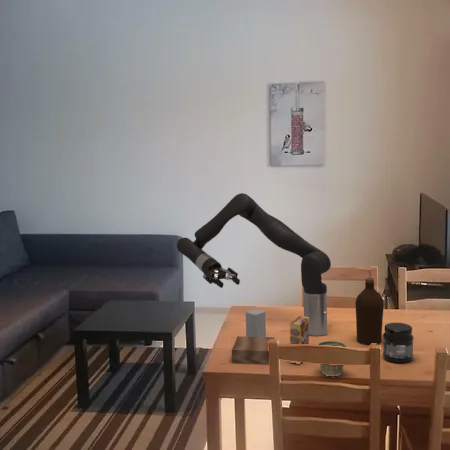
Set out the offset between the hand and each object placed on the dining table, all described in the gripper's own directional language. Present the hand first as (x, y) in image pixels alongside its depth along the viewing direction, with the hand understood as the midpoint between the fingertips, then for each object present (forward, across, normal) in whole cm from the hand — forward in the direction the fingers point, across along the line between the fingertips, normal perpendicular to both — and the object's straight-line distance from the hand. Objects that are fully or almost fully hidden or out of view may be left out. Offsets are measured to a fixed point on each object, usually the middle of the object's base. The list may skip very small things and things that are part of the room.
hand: (230, 284), depth 248 cm
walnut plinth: (+30, -9, +12) cm, 34 cm away
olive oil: (+47, +35, +4) cm, 59 cm away
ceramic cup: (+60, +2, +2) cm, 60 cm away
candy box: (+43, +1, +7) cm, 44 cm away
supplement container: (+64, +28, -1) cm, 70 cm away
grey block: (+19, +2, +15) cm, 25 cm away
